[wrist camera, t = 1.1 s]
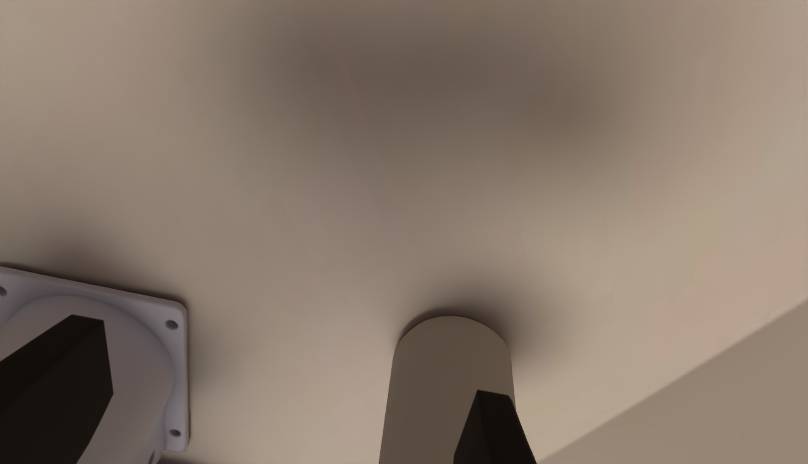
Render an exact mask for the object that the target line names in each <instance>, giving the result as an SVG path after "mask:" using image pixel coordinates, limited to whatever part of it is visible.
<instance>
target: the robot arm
mask: <svg viewBox="0 0 808 464" xmlns="http://www.w3.org/2000/svg"><path fill="white" fill-rule="evenodd" d="M171 320H172V321H175V322H176V323H174V322H172V321H171ZM188 443H189V422H188V349H187V311H186V308H185V307H184V306H183V305H182V304H180V303H179V302H176V301H171V300H166V299H161V298H156V297H151V296H146V295H141V294H136V293H131V292H126V291H121V290H116V289H112V288H107V287H102V286H97V285H92V284H87V283H82V282H77V281H72V280H67V279H62V278H57V277H52V276H47V275H42V274H37V273H32V272H27V271H22V270H17V269H12V268H7V267H2V266H0V464H157V463H158V461H159V459H160V457H161V455H162V453H163V451H164V450H168V451H174V452H182V451H184V450H186V448H187V446H188ZM453 464H537V463H536V461H535V458H534V456H533V453H532V451H531V449H530V446H529V444H528V441H527V439H526V436H525V434H524V431H523V429H522V426H521V423H520V421H519V418H518V415H517V413H516V410H515V407H514V404H513V401H512V399H511V398H510V397H509V395H505V394H499V393H494V392H488V391H483V390H478V389H477V392H476V395H475V397H474V400H473V403H472V406H471V409H470V411H469V414H468V417H467V420H466V423H465V425H464V428H463V431H462V434H461V437H460V439H459V442H458V445H457V448H456V451H455V453H454V459H453Z"/></svg>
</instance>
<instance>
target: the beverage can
mask: <svg viewBox="0 0 808 464" xmlns="http://www.w3.org/2000/svg"><path fill="white" fill-rule="evenodd" d="M477 389H478V390H483V391H488V392H494V393H499V394H505V395H509V397H510V398H511V399H512V401H513V404H514V407H515V410H516V406H515V396H514V386H513V376H512V365H511V355H510V352H509V350H508V348H507V346H506V344H505V342H504V341H503V340H502V339H501V338H500V336H499V335H498V334H497V333H496V332H495V331H493V330H491V329H490V328H488V327H487V326H485V325H484V324H482V323H480V322H477V321H475V320H472V319H469V318H466V317H459V316H440V317H436V318H432V319H428V320H425V321H424V322H422V323H420V324H418V325H417V326H415V327H414V328H413V329H411V330H410V331H409V332H408V333H407V334H406V335H405V336H404V337H403V338H402V339H401V341H400V342H399V344H398V346H397V348H396V349H395V352H394V357H393V362H392V369H391V377H390V384H389V392H388V399H387V406H386V414H385V421H384V428H383V436H382V443H381V450H380V458H379V464H453V459H454V453H455V451H456V448H457V445H458V442H459V439H460V437H461V434H462V431H463V428H464V425H465V423H466V420H467V417H468V414H469V411H470V409H471V406H472V403H473V400H474V397H475V395H476V392H477Z"/></svg>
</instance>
